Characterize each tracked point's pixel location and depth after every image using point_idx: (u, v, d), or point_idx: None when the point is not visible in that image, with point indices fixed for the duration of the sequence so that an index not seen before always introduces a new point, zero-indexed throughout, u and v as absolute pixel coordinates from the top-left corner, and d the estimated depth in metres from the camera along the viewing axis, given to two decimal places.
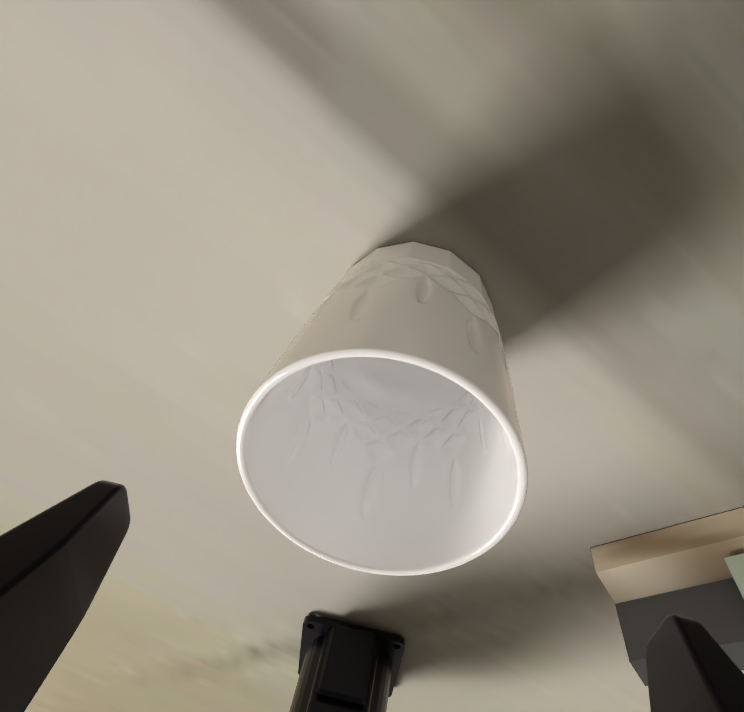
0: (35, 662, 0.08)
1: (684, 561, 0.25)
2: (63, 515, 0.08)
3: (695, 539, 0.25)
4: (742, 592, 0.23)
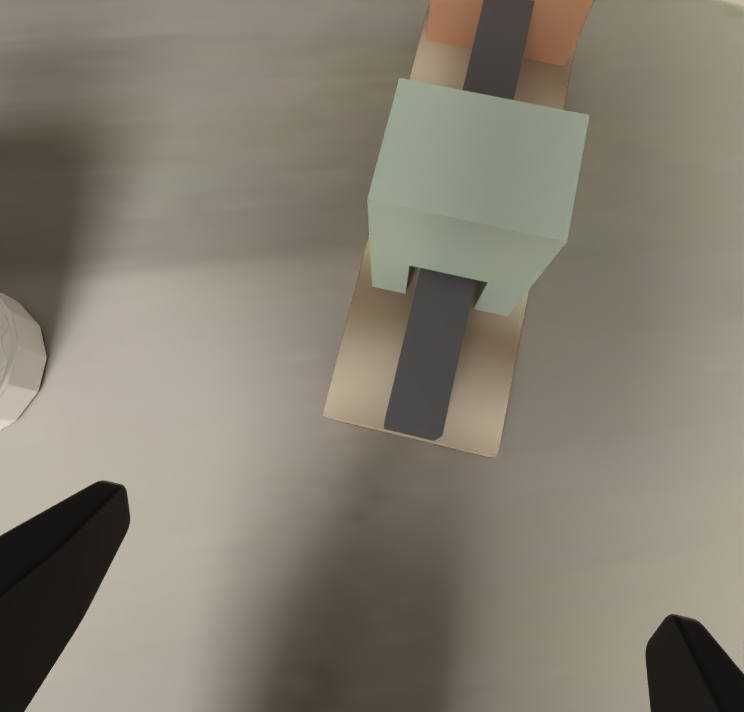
0: (35, 662, 0.08)
1: (363, 325, 0.22)
2: (63, 515, 0.08)
3: None
4: (371, 268, 0.20)
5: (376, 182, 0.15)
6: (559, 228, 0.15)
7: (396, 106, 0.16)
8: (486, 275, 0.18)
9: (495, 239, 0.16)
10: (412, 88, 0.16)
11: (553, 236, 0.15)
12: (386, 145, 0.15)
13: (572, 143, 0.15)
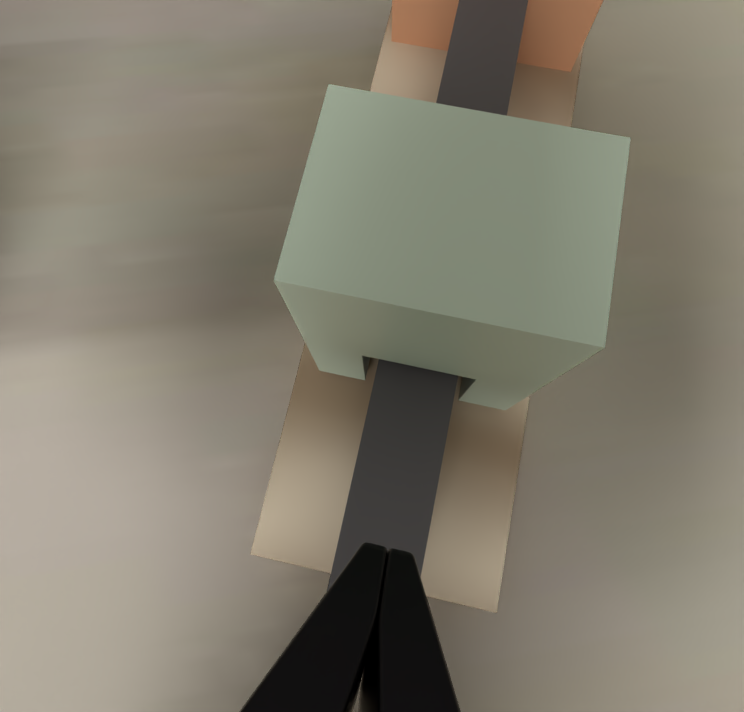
0: None
1: (308, 423, 0.16)
2: (357, 586, 0.08)
3: None
4: None
5: (289, 251, 0.09)
6: (590, 325, 0.09)
7: (323, 128, 0.10)
8: (473, 373, 0.12)
9: (486, 337, 0.10)
10: (349, 100, 0.10)
11: (581, 339, 0.09)
12: (305, 189, 0.10)
13: (605, 183, 0.10)
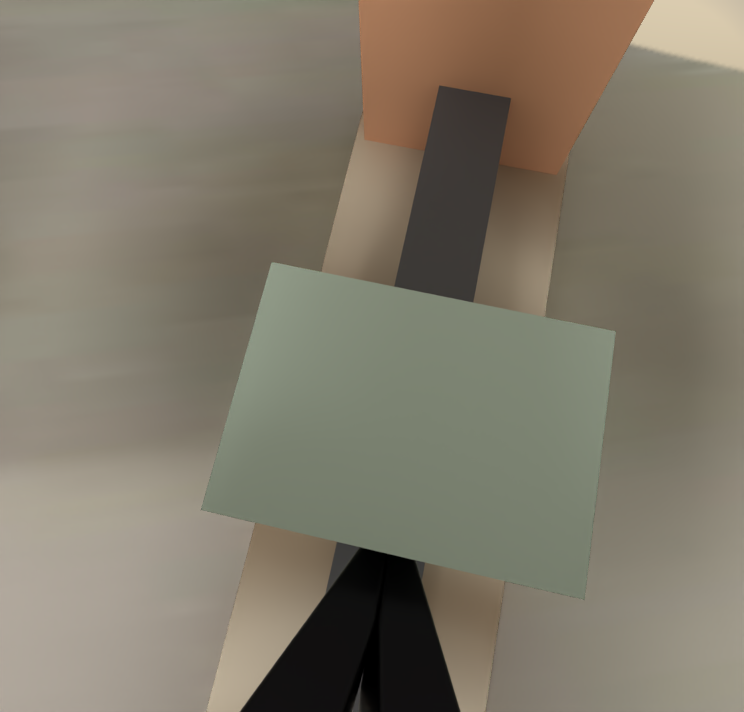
0: None
1: (267, 578, 0.15)
2: (356, 586, 0.08)
3: None
4: None
5: (220, 473, 0.08)
6: (568, 570, 0.08)
7: (264, 317, 0.09)
8: None
9: None
10: (294, 281, 0.09)
11: (557, 588, 0.08)
12: (241, 395, 0.08)
13: (586, 388, 0.08)
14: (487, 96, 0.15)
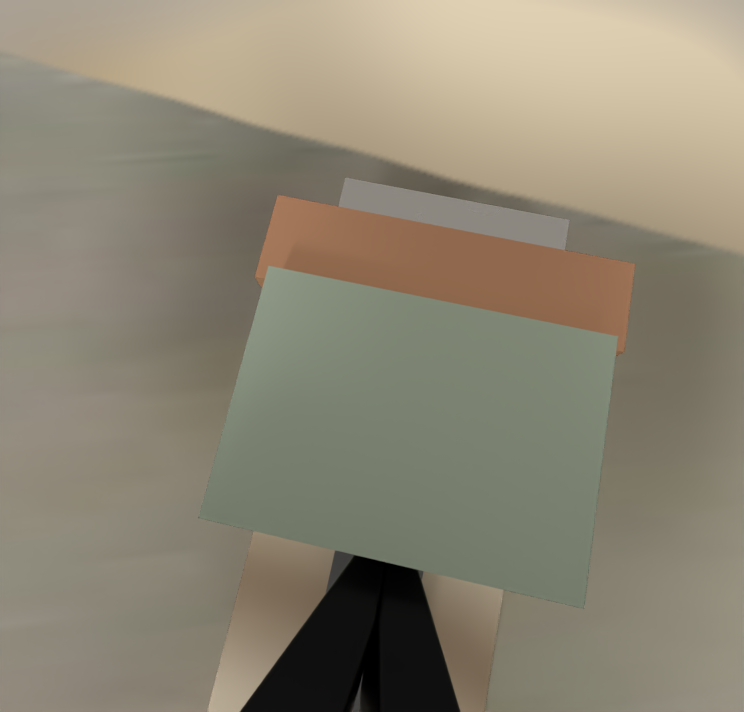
0: None
1: None
2: (357, 586, 0.08)
3: None
4: None
5: (217, 481, 0.08)
6: (568, 579, 0.08)
7: (261, 322, 0.09)
8: None
9: None
10: (292, 285, 0.09)
11: (556, 597, 0.08)
12: (239, 401, 0.08)
13: (588, 394, 0.08)
14: None
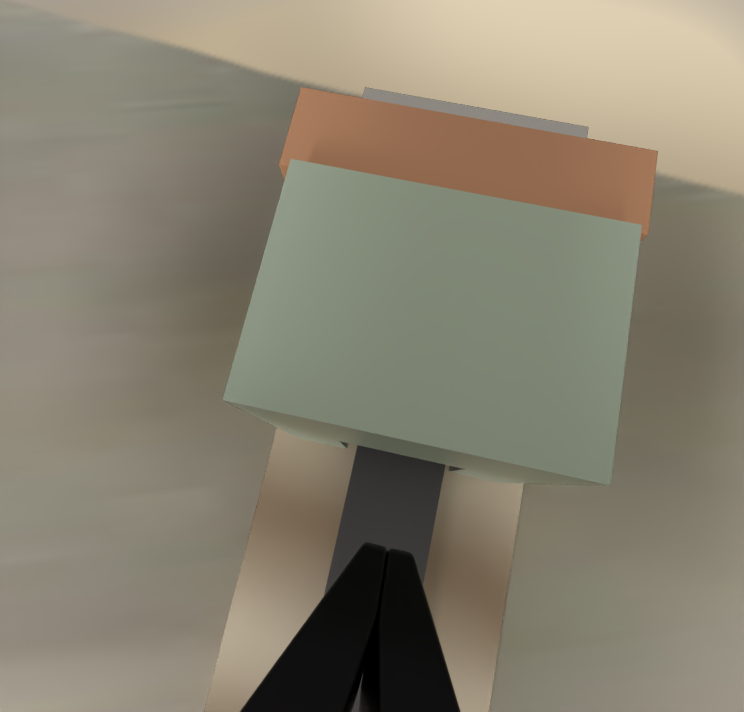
0: None
1: None
2: (356, 586, 0.08)
3: None
4: None
5: (241, 364, 0.08)
6: (594, 457, 0.08)
7: (283, 213, 0.08)
8: (462, 467, 0.11)
9: (472, 458, 0.08)
10: (314, 178, 0.09)
11: (583, 474, 0.08)
12: (261, 288, 0.08)
13: (612, 280, 0.08)
14: None
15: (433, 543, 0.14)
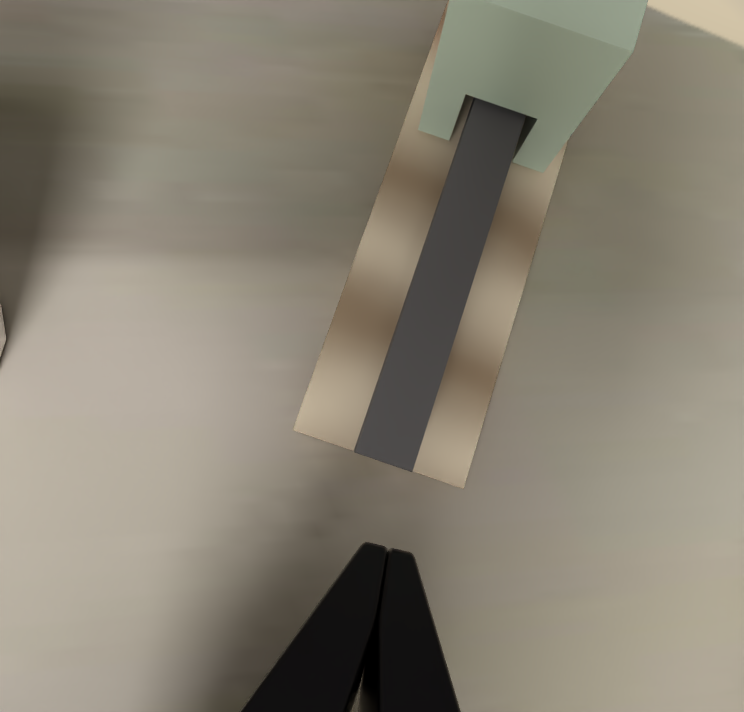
0: None
1: (342, 342, 0.22)
2: (356, 585, 0.08)
3: None
4: (425, 101, 0.21)
5: None
6: (627, 39, 0.16)
7: None
8: (539, 107, 0.19)
9: (564, 50, 0.17)
10: None
11: (621, 45, 0.16)
12: None
13: None
14: None
15: None
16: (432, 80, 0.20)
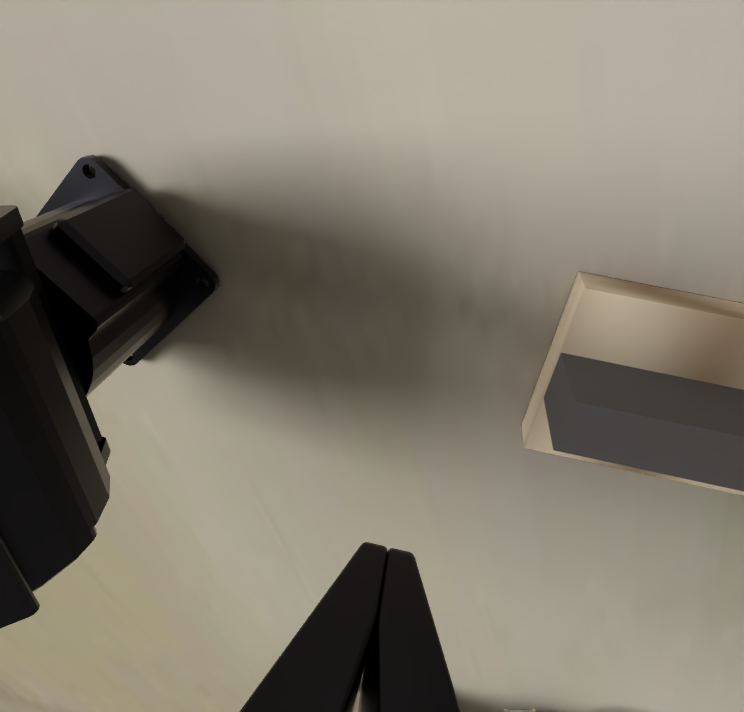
0: None
1: (696, 330, 0.18)
2: (357, 586, 0.08)
3: (727, 311, 0.18)
4: None
5: None
6: None
7: None
8: None
9: None
10: None
11: None
12: None
13: None
14: None
15: None
16: None
